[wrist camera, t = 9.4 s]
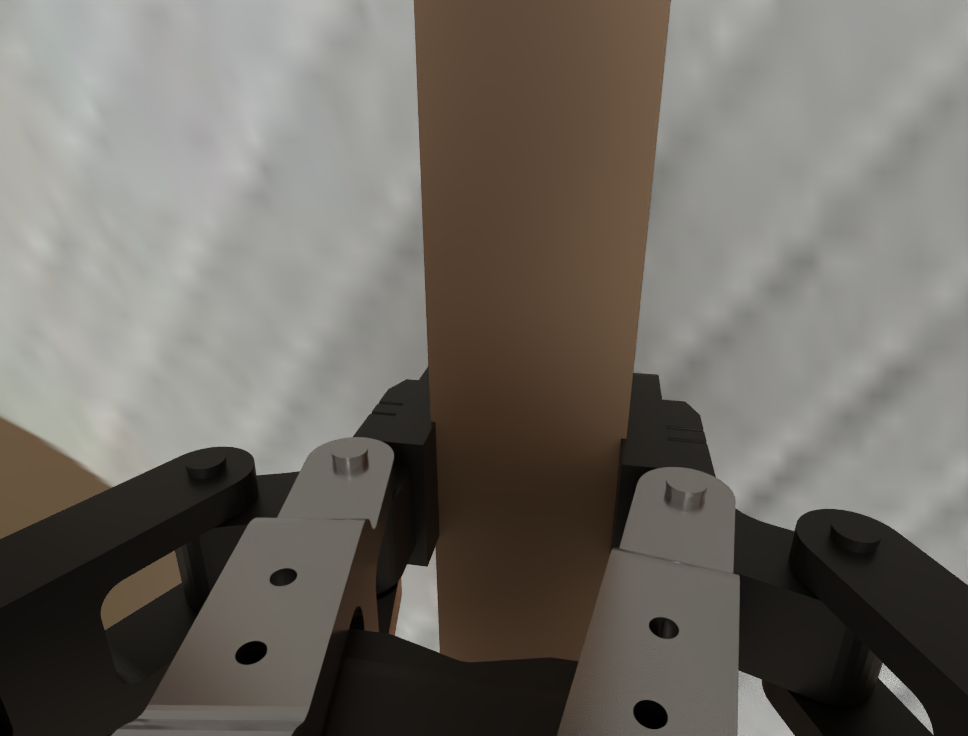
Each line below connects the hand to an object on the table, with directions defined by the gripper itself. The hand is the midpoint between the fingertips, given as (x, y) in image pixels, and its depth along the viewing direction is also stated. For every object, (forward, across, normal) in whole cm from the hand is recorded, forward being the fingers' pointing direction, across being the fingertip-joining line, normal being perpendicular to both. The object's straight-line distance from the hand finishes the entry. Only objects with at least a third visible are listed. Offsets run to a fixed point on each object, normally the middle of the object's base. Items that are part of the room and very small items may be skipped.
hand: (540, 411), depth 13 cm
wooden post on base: (+1, 0, +2) cm, 2 cm away
